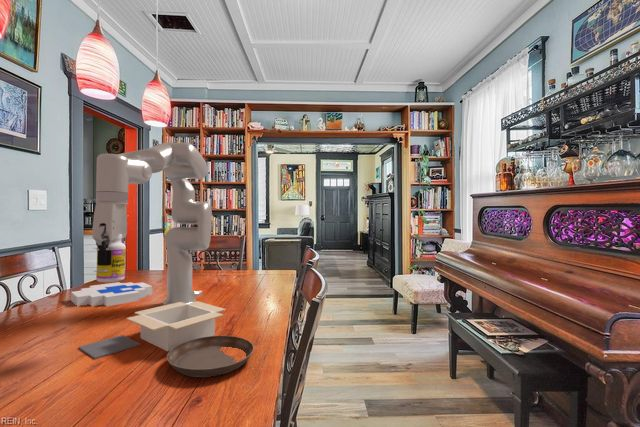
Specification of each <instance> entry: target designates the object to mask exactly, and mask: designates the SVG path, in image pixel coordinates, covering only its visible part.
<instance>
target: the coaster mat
mask: <svg viewBox="0 0 640 427" xmlns="http://www.w3.org/2000/svg"><path fill="white" fill-rule="evenodd" d="M139 346H141V343H139V342H138V341H135V340H133V339H131V338H130V337H127V336H126V335H124V334H120V335H117V336H113V337H110V338H106V339H103V340H99V341H94V342H91V343H87V344H84V345H80V346H78V349H79V350H80V351H81V352H84V353H85V354H87V355H88V356H90V357H91V358H92V359H94V360H96V359H100V358H105V357H106V356H110V355H113V354H116V353H120V352H123V351H126V350H129V349H132V348H136V347H139Z"/></svg>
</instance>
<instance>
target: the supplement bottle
mask: <svg viewBox="0 0 640 427" xmlns="http://www.w3.org/2000/svg"><path fill="white" fill-rule="evenodd" d="M121 238H122V234H120V235H118V238H117V239H116V240H112V244H111V248H110V250H112V264H111V265H109V266H98V265H97V264H96V281H97V282H98V283H117V282H120V281H123V280H125V277H126V249H127V248H126V245H125V243H124V244H123V243H121ZM103 239H109V238H103ZM106 244H107V242H106ZM97 260H98V251H97V250H96V261H97Z"/></svg>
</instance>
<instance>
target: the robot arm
mask: <svg viewBox="0 0 640 427" xmlns="http://www.w3.org/2000/svg"><path fill="white" fill-rule="evenodd" d="M163 171H164V172H163ZM160 172H163V173H164V174H165V175H166V177H167V179H168V181H169V183H170V185H171V188H172V202H171V219H172V221H173V222H174V223H175V224H178V225H179V224H181V225H197V227H195V226H192V227H191V226H175V227H172V228H169V229H168V230H167V231H166V233H165V236H164V239H165V240H164V242H165V247H166V253H167V255H166V256H167V270H166V272H167V273H166V280H167V281H166V299H165V300H163V301H162V306H164V305H169V304H173V303H178V302H183V303H186V304H189V303H193V302H197V299H196V297H197V296H198V297H199V296H203V291H202V290H198V291H196V290H193V264H194V263H193V258H192V256H191V254H190V253H189V252H188V251H205V250H207V249H209V246H210V243H211V238H212V237H211V234H212V221H213V212H212V207H211V204H209V203H208V202H207V201H196V199H195V198H196V197H195V196H196V195H195V194H196V191H195V188H194V186H193V185H192V183H191V182H190V181H189V180H202V179H204V178H206V176H207V174H208V172H209V169H208V164H207V161H206V160H205V158H204V157H203V156H202V154H201V153H200V151H199V150H198V149H197V148H196V146H194V145H193V144H192V143H189V142H176V141H174V142H172V141H171V142H162V143H158V144H157V145H154V146H151V147H149V148H144V149H138V150H135V151H133V150H132V151H128V152H123V153H118V154H116V153H101V154H99V155H98V156H97V157H96V176H95V177H96V178H95V180H96V184H95V185H96V186H95V187H96V188H95V208H94V212H93V221H92V239H93V240H94V241H95V245H96V252H97V251H98V260H97V259H96V266H97V265H98V266H109V265H111V264H112V250H110V248H111V244H112V240H116V239H117V238H118V235H120V234H122V238H121V243H123V244H125V241H126V237H127V234H128V219H127V218H128V217H127V216H128V215H127V212H128V211H127V205H129V185H142V184H145V183H147V182H149V181H150V179H151V178H152V175H153V174H157V173H160ZM103 238H109V239H103ZM106 242H107V244H106Z"/></svg>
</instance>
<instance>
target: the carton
mask: <svg viewBox="0 0 640 427" xmlns="http://www.w3.org/2000/svg"><path fill="white" fill-rule="evenodd" d="M225 311H227V310H226V308H224V307H220V306H216V305H212V304H209V303H206V302H202V301H198V300H196V302H193V303H189V304H186V303H183V302H178V303H173V304H169V305H164V306H163V305H160V306H156V307H151V308H148V309H143V310H139V311H135V312H134V314H135V315H134V316H129V317H126V320H127V321H129V322H132V323H134V324H136V325H138V326H140V339H141V340H143V341H144V342H145V341H146V342H147V343H149V344H152V345H154V346H156V347H158V348H160V349H162V350H164V351H166V352H169V351H170V350H171V349H173V348H174V347H176V346H177V345H179V344H182V343H184V342H187V341H190V340H193V339H197V338H202V337H209V336H216V319H218V318H221V317H224V314H223V313H221V312H225Z"/></svg>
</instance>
